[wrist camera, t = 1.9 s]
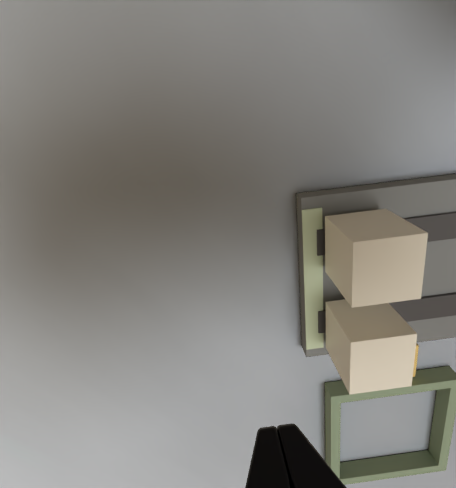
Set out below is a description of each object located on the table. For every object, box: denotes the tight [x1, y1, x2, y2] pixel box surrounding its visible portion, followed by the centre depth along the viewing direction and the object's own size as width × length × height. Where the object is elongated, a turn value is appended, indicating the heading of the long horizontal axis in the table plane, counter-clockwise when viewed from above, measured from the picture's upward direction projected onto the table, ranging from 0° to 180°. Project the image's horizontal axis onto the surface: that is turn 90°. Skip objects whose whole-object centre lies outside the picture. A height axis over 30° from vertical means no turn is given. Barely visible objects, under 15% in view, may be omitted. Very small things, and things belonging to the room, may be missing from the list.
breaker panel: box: [296, 174, 456, 357], centre depth 20 cm, size 11×10×1 cm
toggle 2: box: [326, 299, 417, 394], centre depth 18 cm, size 3×3×4 cm
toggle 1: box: [325, 209, 428, 308], centre depth 16 cm, size 3×3×4 cm
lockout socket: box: [325, 343, 456, 485], centre depth 24 cm, size 8×11×1 cm
